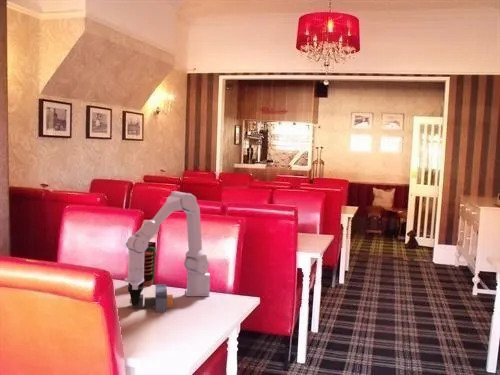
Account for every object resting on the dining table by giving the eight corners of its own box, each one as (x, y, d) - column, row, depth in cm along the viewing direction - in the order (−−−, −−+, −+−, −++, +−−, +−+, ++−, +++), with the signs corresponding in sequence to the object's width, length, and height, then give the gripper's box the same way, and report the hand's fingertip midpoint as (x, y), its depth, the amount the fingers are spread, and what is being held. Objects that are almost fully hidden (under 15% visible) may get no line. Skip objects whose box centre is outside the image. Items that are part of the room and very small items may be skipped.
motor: (147, 288, 205) (148, 242, 203) (127, 286, 207) (128, 240, 205) (156, 282, 215) (157, 238, 213) (137, 280, 217) (139, 236, 215)
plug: (172, 304, 186) (172, 293, 186) (172, 307, 182) (172, 297, 181) (130, 304, 183) (130, 294, 183) (129, 308, 179) (129, 298, 178)
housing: (165, 300, 190) (166, 284, 190) (166, 312, 177) (167, 295, 176) (155, 300, 190) (155, 284, 189) (155, 312, 176) (156, 295, 175)
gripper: (126, 262, 186) (125, 297, 187) (124, 272, 172) (123, 309, 173) (144, 262, 188) (143, 296, 189) (144, 272, 174) (143, 309, 175)
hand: (135, 303), depth 181 cm, fingers closed on plug, 4 cm apart
